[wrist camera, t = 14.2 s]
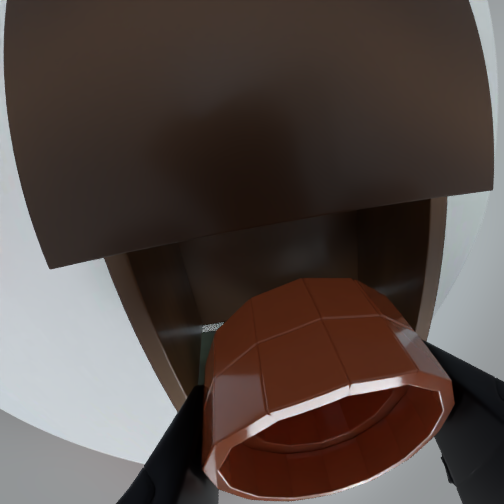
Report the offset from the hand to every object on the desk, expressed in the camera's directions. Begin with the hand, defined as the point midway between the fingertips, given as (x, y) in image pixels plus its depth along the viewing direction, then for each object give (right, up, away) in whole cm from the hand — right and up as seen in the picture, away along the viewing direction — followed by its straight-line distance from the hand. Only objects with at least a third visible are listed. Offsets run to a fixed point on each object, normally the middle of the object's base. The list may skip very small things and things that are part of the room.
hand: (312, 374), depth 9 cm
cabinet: (-3, +15, +4) cm, 16 cm away
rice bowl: (0, 0, +1) cm, 1 cm away
